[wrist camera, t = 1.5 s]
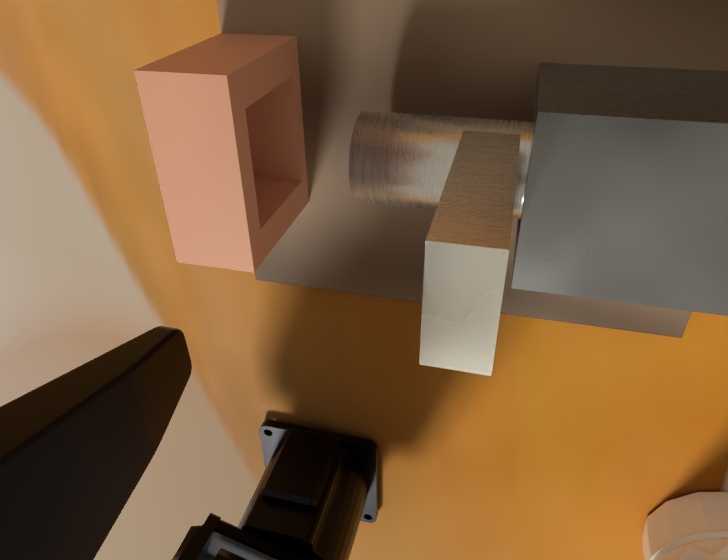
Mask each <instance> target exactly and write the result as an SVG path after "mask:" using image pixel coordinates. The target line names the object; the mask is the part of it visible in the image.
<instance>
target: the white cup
mask: <svg viewBox="0 0 728 560" xmlns="http://www.w3.org/2000/svg"><path fill="white" fill-rule="evenodd" d="M642 544H643V554H644V560H728V492H695V493H692V494H689V495H685V496H682V497H678V498H675V499H672V500H669V501H666V502H665V503H663V504H662V505H661V506H660V507H659V508H657V509H656V510H655V511H654V512H652V513H651V514H650V515H649V516H648V517H647V518H646V522H645V526H644V531H643V535H642Z"/></svg>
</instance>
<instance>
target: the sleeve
mask: <svg viewBox="0 0 728 560" xmlns="http://www.w3.org/2000/svg"><path fill="white" fill-rule="evenodd" d="M531 122H534V134H533V141H532V148H531V154H530V161H529V167H528V174H527V181H526V187H525V194H524V201H523V207H522V214H521V219H517V225H516V237H515V249H514V260H513V272H512V284H511V288H513V289H521V290H529V291H537V292H545V293H553V294H561V295H568V296H576V297H584V298H592V299H600V300H608V301H616V302H624V303H631V304H639V305H647V306H655V307H663V308H671V309H679V310H686V311H694V312H702V313H710V314H718V315H726V316H728V71H718V70H696V69H673V68H650V67H627V66H605V65H582V64H559V63H539V69H538V76H537V83H536V89H535V96H534V103H533V110H532V117H531Z"/></svg>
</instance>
